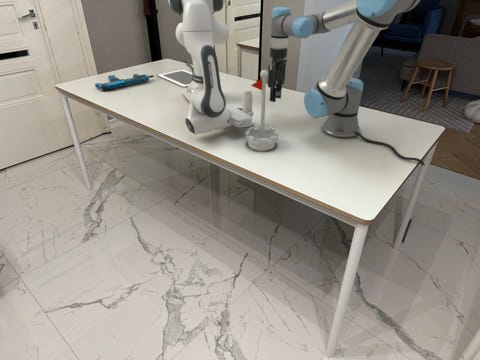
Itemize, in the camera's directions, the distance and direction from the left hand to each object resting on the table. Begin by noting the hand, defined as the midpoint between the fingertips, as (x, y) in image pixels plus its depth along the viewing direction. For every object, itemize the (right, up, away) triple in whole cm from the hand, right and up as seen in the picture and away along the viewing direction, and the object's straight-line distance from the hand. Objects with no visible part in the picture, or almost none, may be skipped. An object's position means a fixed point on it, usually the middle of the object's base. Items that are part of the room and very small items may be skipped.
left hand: (248, 111), depth 152 cm
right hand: (+13, +7, +7) cm, 16 cm away
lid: (+13, +10, +4) cm, 17 cm away
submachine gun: (-75, +29, +57) cm, 99 cm away
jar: (-1, -6, +3) cm, 7 cm away
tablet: (-40, +34, +64) cm, 83 cm away
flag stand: (+5, -16, -13) cm, 22 cm away
